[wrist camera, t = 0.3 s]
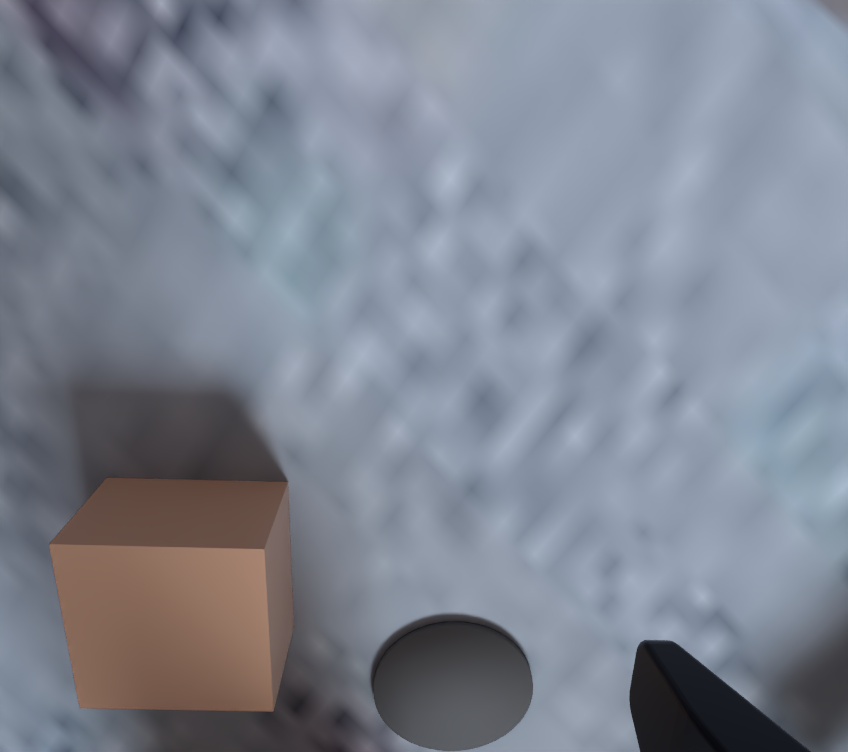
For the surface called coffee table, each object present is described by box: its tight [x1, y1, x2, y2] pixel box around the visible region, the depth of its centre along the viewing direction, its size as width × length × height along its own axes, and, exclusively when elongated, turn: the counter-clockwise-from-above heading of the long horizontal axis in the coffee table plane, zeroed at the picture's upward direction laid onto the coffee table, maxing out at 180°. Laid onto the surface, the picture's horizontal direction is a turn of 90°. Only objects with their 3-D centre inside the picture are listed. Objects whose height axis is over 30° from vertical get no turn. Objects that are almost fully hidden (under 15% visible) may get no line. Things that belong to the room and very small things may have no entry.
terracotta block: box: [49, 478, 294, 712], centre depth 22 cm, size 6×6×4 cm
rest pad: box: [373, 622, 533, 751], centre depth 26 cm, size 6×6×1 cm
